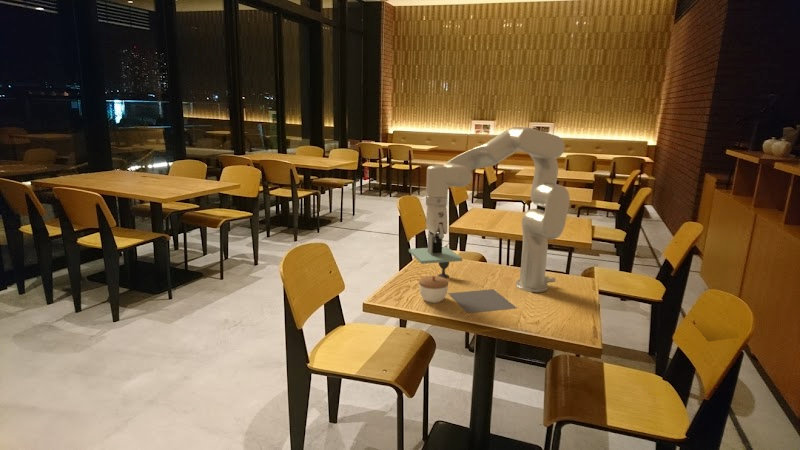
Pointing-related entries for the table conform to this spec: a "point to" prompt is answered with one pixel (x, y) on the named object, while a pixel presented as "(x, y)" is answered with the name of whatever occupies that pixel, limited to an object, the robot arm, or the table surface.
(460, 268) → the table surface
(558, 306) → the table surface
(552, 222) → the robot arm
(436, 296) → the lidded jar
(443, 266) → the sundae
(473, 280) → the table surface
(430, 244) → the lid
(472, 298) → the mat
